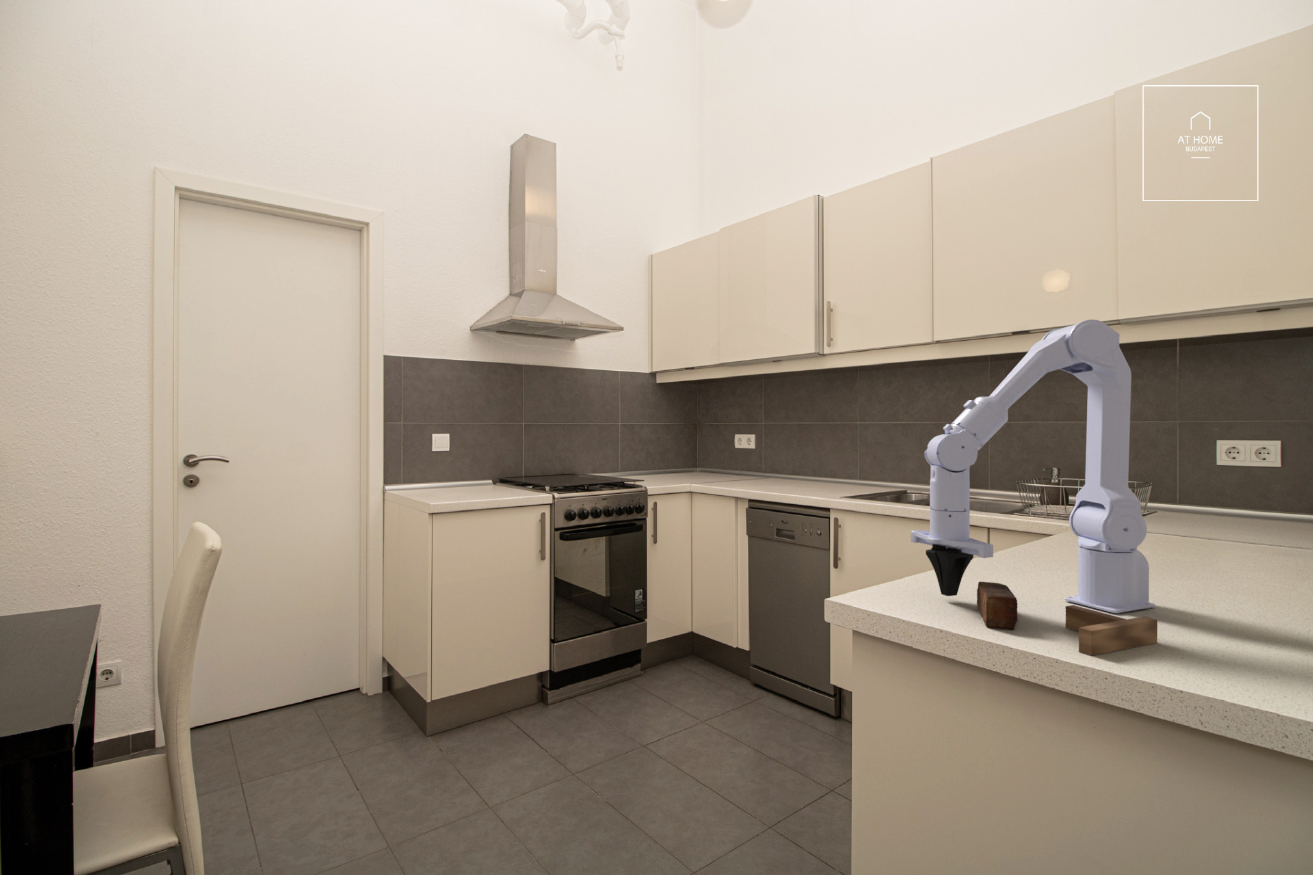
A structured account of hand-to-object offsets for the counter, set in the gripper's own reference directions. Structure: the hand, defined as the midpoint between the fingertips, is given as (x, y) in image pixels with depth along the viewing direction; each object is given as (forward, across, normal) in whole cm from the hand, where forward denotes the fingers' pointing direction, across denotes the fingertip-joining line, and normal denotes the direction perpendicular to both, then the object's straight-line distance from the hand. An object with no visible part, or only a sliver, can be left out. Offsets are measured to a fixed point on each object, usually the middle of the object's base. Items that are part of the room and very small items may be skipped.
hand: (949, 594), depth 99 cm
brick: (+2, +9, -1) cm, 9 cm away
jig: (+1, +20, +3) cm, 21 cm away
